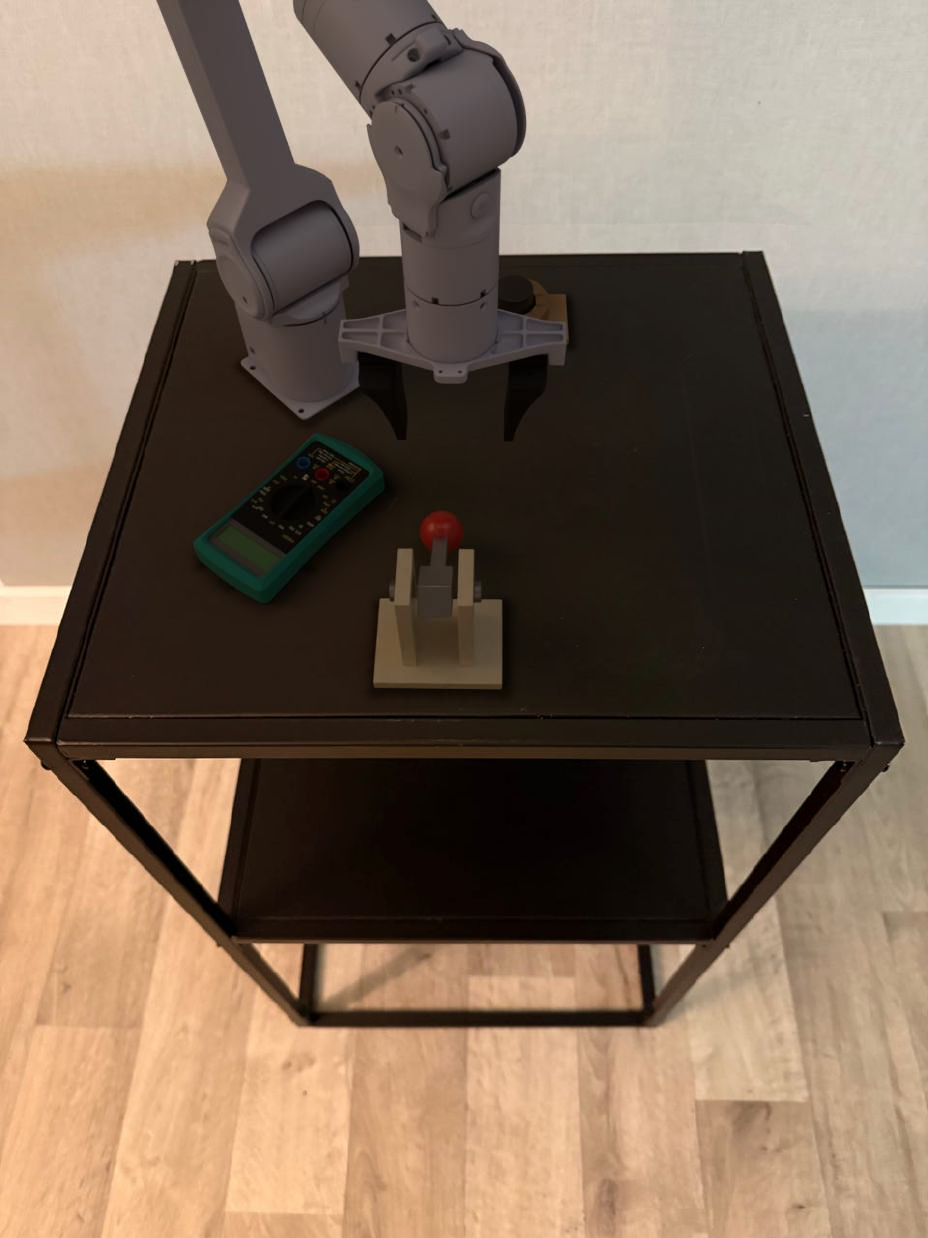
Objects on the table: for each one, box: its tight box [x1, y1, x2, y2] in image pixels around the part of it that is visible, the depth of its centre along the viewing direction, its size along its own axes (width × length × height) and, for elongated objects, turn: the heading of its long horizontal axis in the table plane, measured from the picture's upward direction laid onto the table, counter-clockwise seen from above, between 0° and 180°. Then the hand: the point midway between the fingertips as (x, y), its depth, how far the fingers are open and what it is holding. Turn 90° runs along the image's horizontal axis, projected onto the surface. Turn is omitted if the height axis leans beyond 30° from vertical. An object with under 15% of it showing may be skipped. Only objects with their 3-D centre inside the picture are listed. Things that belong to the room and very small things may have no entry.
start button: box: [498, 274, 534, 315], centre depth 83 cm, size 4×4×2 cm
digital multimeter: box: [192, 432, 386, 604], centre depth 73 cm, size 7×15×3 cm, turn 143°
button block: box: [498, 277, 570, 346], centre depth 85 cm, size 10×6×2 cm, turn 89°
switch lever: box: [417, 510, 465, 618], centre depth 66 cm, size 12×3×3 cm, turn 179°
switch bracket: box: [372, 548, 503, 690], centre depth 64 cm, size 7×9×9 cm
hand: (455, 430), depth 68 cm, fingers open, 7 cm apart
